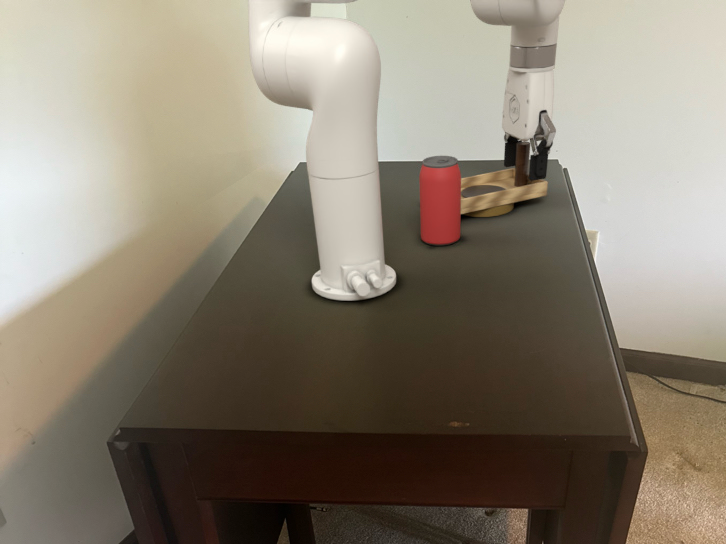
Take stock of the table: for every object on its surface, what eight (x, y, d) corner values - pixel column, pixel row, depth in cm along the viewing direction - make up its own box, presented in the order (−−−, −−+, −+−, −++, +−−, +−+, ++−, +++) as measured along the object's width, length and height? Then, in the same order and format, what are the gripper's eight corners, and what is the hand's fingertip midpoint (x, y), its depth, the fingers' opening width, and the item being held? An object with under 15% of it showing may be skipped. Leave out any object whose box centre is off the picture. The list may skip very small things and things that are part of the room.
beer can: (468, 238, 112) (469, 158, 104) (442, 250, 109) (442, 168, 101) (438, 230, 116) (437, 152, 107) (412, 241, 112) (410, 162, 104)
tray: (451, 216, 116) (451, 167, 111) (421, 200, 123) (420, 153, 118) (546, 195, 122) (551, 147, 117) (512, 180, 129) (515, 135, 124)
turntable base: (524, 211, 121) (524, 202, 120) (468, 220, 119) (468, 211, 118) (497, 194, 129) (497, 185, 128) (444, 203, 126) (444, 194, 125)
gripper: (489, 53, 116) (485, 163, 127) (537, 67, 104) (528, 188, 115) (528, 49, 117) (520, 158, 129) (580, 62, 105) (566, 181, 117)
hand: (524, 172), depth 122 cm, fingers open, 9 cm apart
